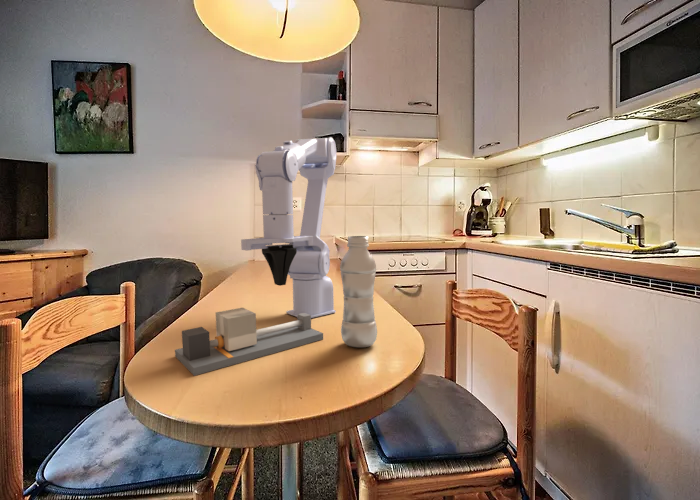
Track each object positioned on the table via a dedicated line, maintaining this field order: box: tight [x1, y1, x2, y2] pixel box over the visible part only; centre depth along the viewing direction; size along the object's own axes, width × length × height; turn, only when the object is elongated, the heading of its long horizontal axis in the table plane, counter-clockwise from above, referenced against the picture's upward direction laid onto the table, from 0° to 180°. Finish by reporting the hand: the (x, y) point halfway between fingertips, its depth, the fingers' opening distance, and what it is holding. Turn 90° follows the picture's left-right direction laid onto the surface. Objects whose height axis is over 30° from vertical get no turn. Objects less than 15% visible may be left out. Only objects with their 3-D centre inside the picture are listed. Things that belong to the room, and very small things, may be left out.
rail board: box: [174, 313, 324, 377], centre depth 66 cm, size 24×10×5 cm, turn 130°
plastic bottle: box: [339, 235, 378, 348], centre depth 66 cm, size 6×7×20 cm
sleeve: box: [215, 307, 257, 351], centre depth 64 cm, size 5×5×6 cm
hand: (280, 284), depth 71 cm, fingers closed
